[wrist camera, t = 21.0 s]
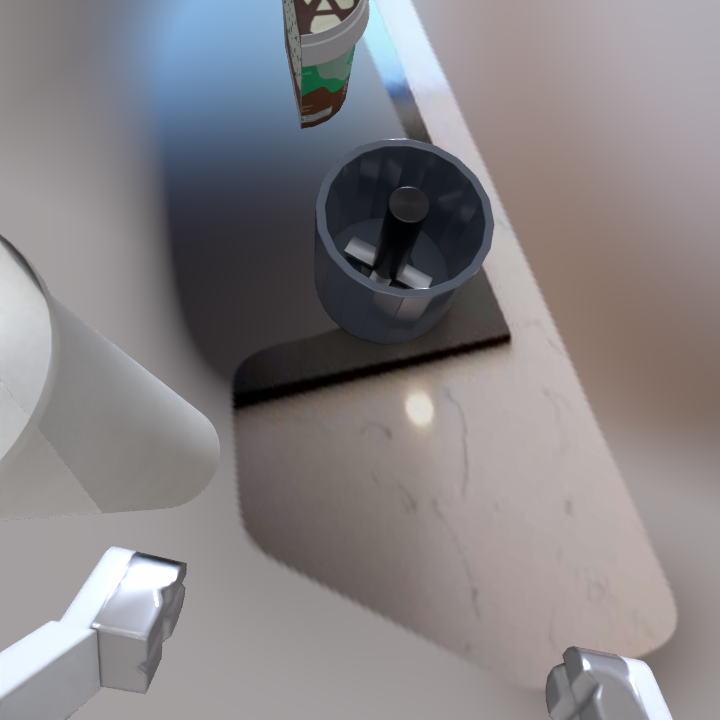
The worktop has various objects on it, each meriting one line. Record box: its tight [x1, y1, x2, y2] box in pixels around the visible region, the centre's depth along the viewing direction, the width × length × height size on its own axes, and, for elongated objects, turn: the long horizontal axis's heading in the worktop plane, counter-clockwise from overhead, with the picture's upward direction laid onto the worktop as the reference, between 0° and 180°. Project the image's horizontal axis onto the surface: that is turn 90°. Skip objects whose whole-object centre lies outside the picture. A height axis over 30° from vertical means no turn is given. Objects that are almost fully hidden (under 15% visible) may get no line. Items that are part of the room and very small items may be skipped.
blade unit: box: [344, 187, 433, 289], centre depth 35 cm, size 7×7×10 cm
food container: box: [282, 0, 369, 129], centre depth 41 cm, size 12×6×10 cm, turn 11°
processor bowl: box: [314, 139, 494, 344], centre depth 36 cm, size 12×12×10 cm
